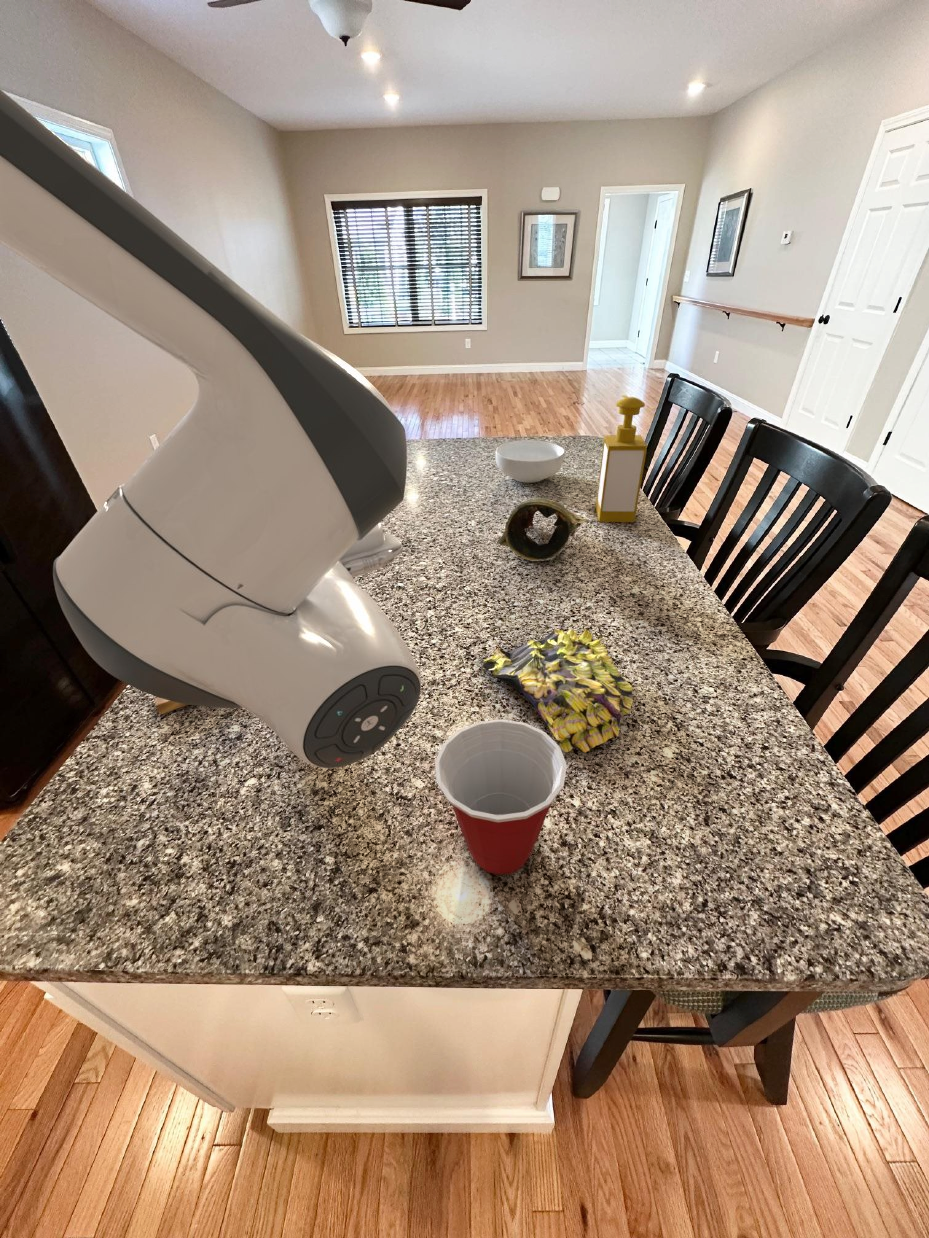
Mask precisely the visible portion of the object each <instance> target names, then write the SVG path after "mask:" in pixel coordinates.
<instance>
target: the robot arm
mask: <svg viewBox="0 0 929 1238" xmlns="http://www.w3.org/2000/svg"><path fill="white" fill-rule="evenodd" d="M0 244H1V245H2V246H4V247H6V248H7V249H9V250H10V251H12V252H13V253H14V254H16V255H18V256H20V257H21V258H22V259H24V260H26V261H27V262H28V263H30V264H32V266H34V267H36V268H38V269H39V270H40V271H42V272H44V273H45V274H47V275H48V276H50V277H51V278H52V279H54V280H56V281H57V282H58V283H60V284H62V285H63V286H65V287H66V288H68V289H69V290H71V291H72V292H74V293H75V294H77V295H78V296H80V297H81V298H83V299H84V300H86V301H87V302H89V303H91V304H92V305H93V306H95V307H97V308H98V309H99V310H101V311H103V312H104V313H106V314H107V315H108V316H110V317H112V318H113V319H115V320H116V321H118V322H119V323H121V324H122V325H123V326H125V327H127V328H128V329H130V330H132V331H133V332H134V333H136V334H137V335H139V336H140V337H142V338H143V339H144V340H146V341H148V342H149V343H151V344H152V345H154V346H155V347H157V348H158V349H160V350H161V351H163V352H164V353H166V354H167V355H169V356H171V357H172V358H173V359H175V360H176V361H178V362H179V363H181V364H182V365H184V366H185V367H187V368H188V369H189V370H190V371H191V372H192V373H193V375H194V376H195V378H196V381H197V384H198V392H197V396H196V398H195V401H194V403H193V405H192V406H191V408H190V409H189V411H187V413H186V414H185V415H184V416H183V417H182V418H181V420H180V421H179V422H178V423H177V424H176V426H174V428H173V429H172V430H171V431H169V433H168V434H167V435H166V436H165V438H164V439H163V440H162V441H161V443H159V445H158V446H156V448H155V449H154V450H153V451H152V453H151V454H150V455H149V456H148V457H147V458H146V459H145V460H144V462H142V464H141V465H140V466H139V467H138V468H137V469H136V470H135V472H134V473H133V474H132V475H131V477H130V478H129V479H128V480H127V481H126V482H125V483H123V484H120V485H119V486H118V487H117V489H115V491H114V492H113V493H112V494H111V495H109V497H108V498H107V499H106V501H105V502H104V503H103V505H101V507H100V508H99V509H98V510H97V511H96V512H95V513H94V515H93V516H91V518H90V519H89V520H88V522H86V524H85V525H84V526H83V527H82V528H81V530H80V531H78V533H77V534H76V535H75V536H74V538H73V539H72V541H71V542H70V543H69V544H68V546H67V547H66V548H65V549H64V550H63V552H62V553H61V554H60V555H59V556H57V557H56V558H55V560H53V565H52V578H53V586H54V590H55V594H56V598H57V600H58V603H59V605H60V608H61V610H62V613H63V615H64V616H65V618H66V620H67V622H68V624H69V626H70V628H71V630H72V631H73V633H74V635H75V636H76V638H77V639H78V641H79V642H80V645H81V646H82V647H83V648H84V650H85V651H86V653H87V654H88V655H89V656H90V657H91V658H92V660H93V661H95V663H96V664H98V666H99V667H100V668H102V669H103V670H104V671H105V672H107V673H108V674H110V675H111V676H112V677H114V678H116V679H117V680H119V681H121V682H122V683H125V684H126V685H128V686H131V687H133V688H134V689H137V690H139V691H141V692H144V693H146V694H148V695H151V696H153V697H155V698H158V697H159V698H162V699H166V700H169V701H173V702H178V703H183V704H189V705H190V706H196V707H197V706H198V707H207V708H218V709H219V708H221V709H244V710H245V711H247V712H249V713H250V714H252V715H254V716H255V717H256V718H258V719H259V720H260V721H261V722H263V723H264V724H265V725H266V726H268V728H270V730H272V732H273V733H274V734H275V735H276V736H277V737H278V738H279V739H280V740H281V742H282V743H283V744H284V745H285V746H286V747H287V748H288V749H289V751H290V752H292V753H293V755H295V756H296V757H297V758H298V759H300V760H301V761H303V762H304V763H307V764H308V765H311V766H313V767H317V768H321V769H337V768H342V767H346V766H349V765H352V764H355V763H358V762H360V761H362V760H364V759H366V758H368V757H369V756H371V755H373V754H375V753H376V752H379V750H381V749H382V748H383V747H384V746H385V745H386V744H387V743H388V742H389V741H390V740H391V739H392V738H393V737H394V736H395V735H396V734H397V733H398V732H399V730H400V729H401V728H402V727H403V726H404V725H405V723H407V721H408V720H409V719H410V717H411V716H412V715H413V713H414V711H415V709H416V707H417V706H418V703H419V700H420V697H421V692H422V679H421V673H420V671H419V667H418V665H417V663H416V661H415V659H414V656H413V654H412V652H411V651H410V649H409V647H408V646H407V644H406V642H405V641H404V639H403V637H402V636H401V634H400V632H399V630H397V628H396V626H395V625H394V624H393V622H392V621H391V620H390V617H388V615H387V614H386V613H385V612H384V610H383V609H382V608H381V607H380V605H379V604H378V603H377V602H376V601H375V599H374V598H373V597H372V596H371V595H370V594H369V593H368V592H367V591H365V590H364V589H363V588H362V587H360V586H359V585H357V583H356V581H355V579H354V578H355V577H359V576H363V575H365V574H368V573H372V572H375V571H377V570H380V569H381V568H383V567H384V566H387V565H389V564H391V563H393V562H394V561H395V558H396V557H398V556H400V555H401V554H402V553H403V550H404V546H403V544H402V542H401V540H400V539H398V538H397V537H396V536H395V535H393V534H392V533H391V534H390V533H386V532H384V527H383V524H382V521H383V520H384V519H385V518H386V517H387V516H388V515H389V514H390V513H391V512H393V511H394V509H396V508H397V507H398V506H399V505H400V504H401V503H402V502H403V501H404V498H405V491H406V483H407V471H408V470H407V468H408V466H407V465H408V445H407V433H406V428H405V426H404V424H403V423H402V422H401V421H400V419H399V418H398V416H397V414H396V413H395V411H394V410H393V408H392V406H391V405H390V403H389V402H388V401H387V399H386V398H385V397H384V396H383V395H382V393H381V392H380V391H379V390H378V389H377V388H376V386H374V385H373V384H372V383H371V382H370V380H368V379H367V378H366V377H365V376H364V375H363V374H361V372H359V371H358V370H356V369H355V368H354V367H353V366H352V365H350V364H349V363H347V362H346V361H345V360H343V359H342V358H340V357H339V356H337V355H336V354H335V353H334V352H331V351H330V350H328V349H326V348H325V347H324V346H322V345H320V344H318V343H316V342H315V341H313V340H312V339H310V338H308V337H307V336H305V335H303V334H302V333H300V332H298V330H296V329H295V328H294V327H292V326H291V325H289V324H288V323H287V322H286V321H284V320H282V319H281V317H279V316H277V315H276V313H274V312H272V311H271V310H270V309H269V308H267V307H266V306H265V305H264V304H262V303H261V302H260V301H258V299H256V298H255V297H254V296H253V295H251V294H250V293H249V292H247V291H246V290H245V288H243V287H241V286H240V285H239V284H238V283H237V282H235V281H234V280H233V279H232V278H230V277H229V276H228V275H227V274H226V273H225V272H223V271H222V270H221V269H220V268H218V267H217V266H216V265H215V264H214V263H212V262H211V261H210V260H209V259H207V258H206V257H205V256H204V255H202V254H201V252H199V251H198V250H197V249H196V248H194V247H193V246H192V245H190V244H189V243H188V242H186V241H185V239H183V238H182V237H181V236H179V235H178V234H177V233H176V232H175V231H174V230H172V229H171V228H170V227H169V226H168V225H166V224H165V223H164V222H163V221H161V220H160V219H159V218H158V217H156V216H155V215H154V214H153V213H152V212H151V211H149V209H147V208H146V207H145V206H143V205H142V204H141V203H140V202H138V201H137V200H136V199H135V198H134V197H132V196H131V195H130V194H128V192H126V191H125V190H124V189H122V187H120V186H119V185H118V184H117V183H115V182H114V181H113V180H112V179H111V178H110V177H108V176H107V175H106V174H104V172H102V171H101V170H99V168H97V167H96V166H95V165H93V164H92V163H91V162H90V161H89V160H87V159H86V158H85V157H84V156H83V155H81V154H80V153H79V152H78V151H77V150H75V148H73V147H72V146H71V145H69V143H67V142H66V141H65V140H64V139H62V138H61V137H60V136H59V135H57V134H56V133H54V132H53V130H51V129H50V128H49V127H48V126H46V125H45V124H44V123H43V122H41V121H40V120H39V119H38V118H37V117H36V116H34V115H33V114H32V113H31V112H29V111H28V110H27V109H25V108H24V107H23V106H22V105H21V104H20V103H18V102H17V101H16V100H15V99H13V98H12V97H11V96H10V95H8V94H7V93H6V92H5V91H4V90H3V89H2V88H0ZM189 705H188V706H189Z"/></svg>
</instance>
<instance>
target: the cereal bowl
mask: <svg viewBox="0 0 929 1238" xmlns="http://www.w3.org/2000/svg"><path fill="white" fill-rule="evenodd" d="M565 452H566V451H565V448H563V447H562V446H561V445H559V444H556V443H553V442H548V441H543V440H533V439H532V440H531V439H527V440H526V439H525V440H513V441H508V442H505V443H503V444H500V445H499V446H497V447H496V448H495V462H496V466H497V469H499V471H500V472H501V473H502V474H504V475H505V476H507V477H509V478H512V479H513V480H514V481H516V482H519V483H524V484H525V483H527V484H528V483H529V484H530V483H539V482H542V481H543V480H545V479H548V478H550V477H553V476H554V475H556V474H557V473H558V472H559V471H560V469H561V468H562V466H563V463H564V459H565Z"/></svg>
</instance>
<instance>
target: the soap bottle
mask: <svg viewBox="0 0 929 1238" xmlns="http://www.w3.org/2000/svg"><path fill="white" fill-rule="evenodd" d="M621 397H622V399H620V400H617V402H615V406H616V407H618V414H619V415H622V416H624V417H623V423H622V424H619V425H617V427H616V434H615V435H614V434H613V435H612V434H611V435H607V434H605V435H603V437H604V438H603V443H602V451H601V458H600V466H599V467H600V468H599V477H598V484H597V492H596V502H595V512H596V515H597V519H598V522H599V523H635V521H636V516H637V509H638V504H639V498H640V491H641V486H642V479H643V474H644V469H645V463H646V457H647V448H648V444H647V442H646V441H645V439H644V438H643V436H642V435H641V434H636V433H637V428H638V427H637V426H636V425H634V424H633V418H634V416H637V415H640V413H641V412H640V411H641V408H644V407H646V403H645V402H644V401H643V400H641V399H639V398H638V397H635V396H628V395H626V394H622V395H621Z"/></svg>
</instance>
